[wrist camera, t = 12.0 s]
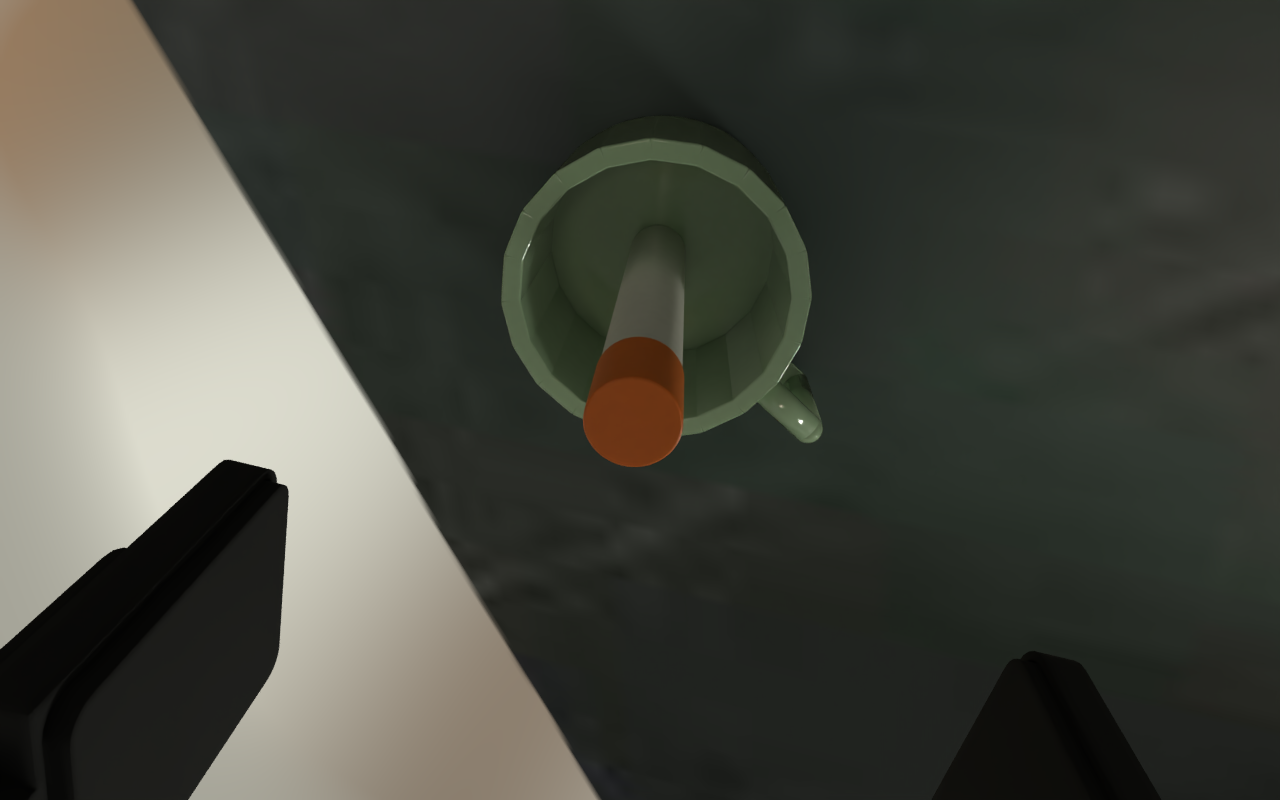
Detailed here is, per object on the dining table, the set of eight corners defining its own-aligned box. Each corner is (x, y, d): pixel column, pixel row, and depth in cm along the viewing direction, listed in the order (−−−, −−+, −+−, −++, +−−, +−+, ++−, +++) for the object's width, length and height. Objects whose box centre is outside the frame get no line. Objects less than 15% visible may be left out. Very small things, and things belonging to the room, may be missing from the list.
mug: (490, 246, 32) (440, 302, 25) (658, 56, 29) (649, 65, 22) (715, 447, 35) (720, 542, 28) (889, 294, 32) (939, 362, 25)
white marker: (636, 217, 30) (594, 366, 17) (693, 231, 30) (695, 390, 17) (623, 272, 31) (573, 455, 18) (678, 285, 31) (669, 477, 18)
